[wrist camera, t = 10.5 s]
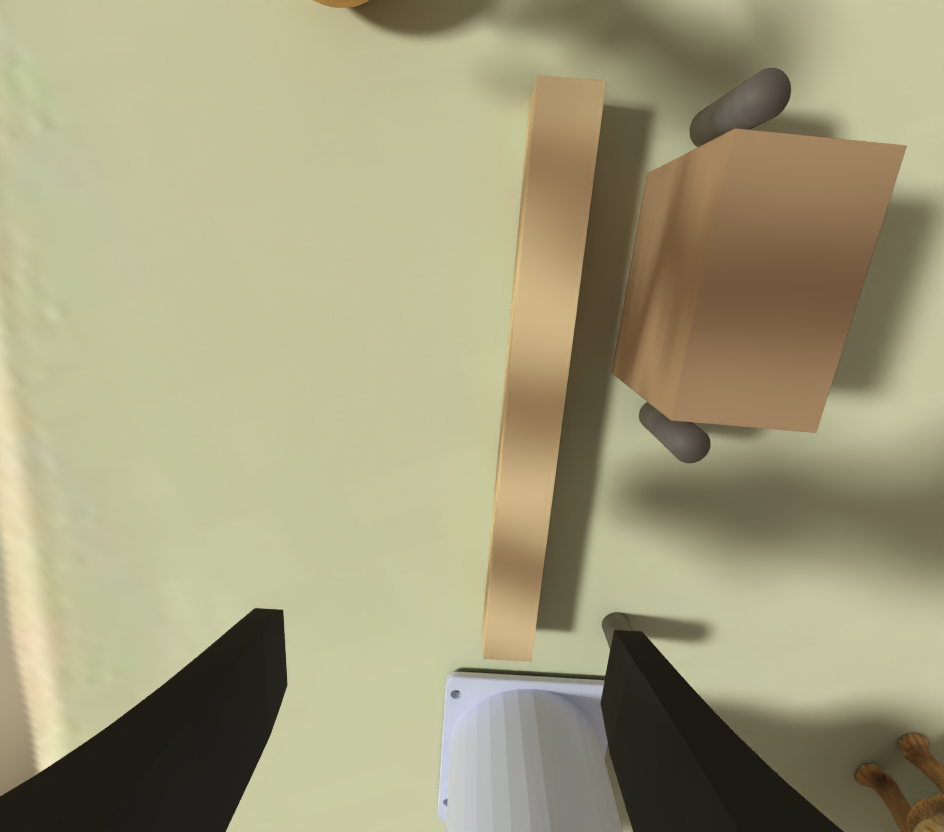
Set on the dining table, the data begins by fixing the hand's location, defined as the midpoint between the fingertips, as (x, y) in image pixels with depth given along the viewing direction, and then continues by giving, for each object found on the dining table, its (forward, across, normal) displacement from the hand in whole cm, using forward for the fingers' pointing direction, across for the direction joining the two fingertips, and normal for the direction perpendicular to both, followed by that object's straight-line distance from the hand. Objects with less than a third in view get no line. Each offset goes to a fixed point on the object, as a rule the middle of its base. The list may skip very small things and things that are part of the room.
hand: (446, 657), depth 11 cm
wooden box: (+10, -8, -8) cm, 15 cm away
